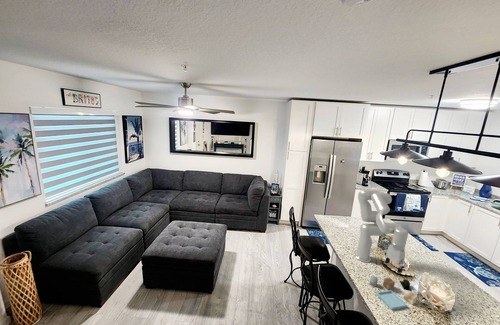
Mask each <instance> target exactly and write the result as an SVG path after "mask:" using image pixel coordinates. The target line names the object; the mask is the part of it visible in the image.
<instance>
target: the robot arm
mask: <svg viewBox="0 0 500 325" xmlns="http://www.w3.org/2000/svg"><path fill="white" fill-rule="evenodd" d="M357 199H358V203H359V209H360V218H361V220H362V221H363V223H362V224H360V227H359V232H360V234H359V239H358V240H359V241H358V246H357V247H355V248H354V251H355V253H354V257H355V258H356V259H357V260H358V261H361V262H363V263H369V262H371V260H372V258H371V257H370V256H371V249H372V246H373V239H372V237H380V236H383V235H384V234H389V235H391V234H392V239H391V240H390V242H391V243H390V244H389V246H388V248H387V249H384V250H383V251H384V256H385V262H384V263H385V264H390V261H392V262H393V263H394V264H396V265H397V266H398V267H397V271H396V273H397V274H401V273H403V270H404V269H406V268H407V267H409V265H408V263H407V262H406V261H405V258H406V251H405V249H406V245H407V240H408V237H409V231H408V230H407V229H405V228H403V226H402V225H401V224H399V223H398V222H386V221H385V220H384V218H383V215H387V214H388V213H390V211H391V209H390V207H389V205H388V204H391V203H392V200H393V198H392V196H391V194H390V193H388V192H384V191H381V190H376V189H375V190H372V189H371V190H370V189H362V190H360V191H359V192H358V194H357ZM369 201H371V202H372V203H373V205H374V208H375V209H376V210H372V208H373V207H372V204H371V203H370V202H369ZM364 222H365V223H364Z"/></svg>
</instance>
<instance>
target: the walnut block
mask: <svg viewBox="0 0 500 325" xmlns="http://www.w3.org/2000/svg"><path fill="white" fill-rule="evenodd" d="M395 284H396V282H395V280H393V279H392V278H391V277H384V278H383V283H382V286H383V287H384V288H385V289H386V291H388V290H392V291H393V290H394V288H395Z"/></svg>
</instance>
